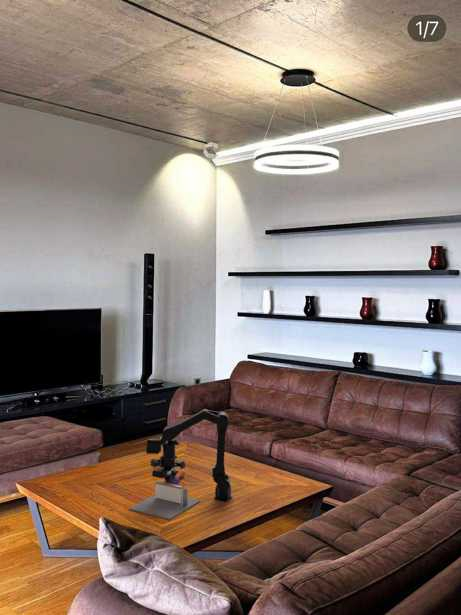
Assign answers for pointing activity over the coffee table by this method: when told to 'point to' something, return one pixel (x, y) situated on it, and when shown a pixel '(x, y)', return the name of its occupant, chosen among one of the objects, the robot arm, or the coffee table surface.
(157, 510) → the flat gray base plate
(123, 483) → the coffee table surface
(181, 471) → the kendama
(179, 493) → the gate
